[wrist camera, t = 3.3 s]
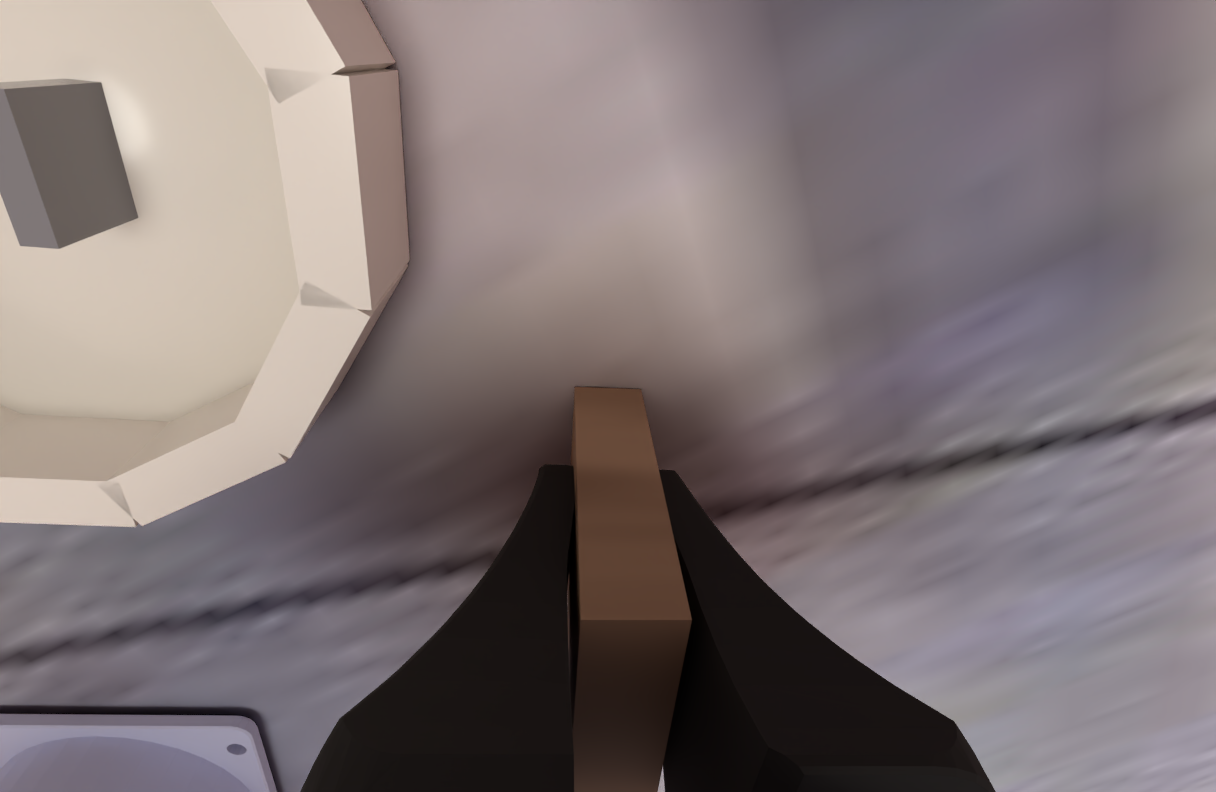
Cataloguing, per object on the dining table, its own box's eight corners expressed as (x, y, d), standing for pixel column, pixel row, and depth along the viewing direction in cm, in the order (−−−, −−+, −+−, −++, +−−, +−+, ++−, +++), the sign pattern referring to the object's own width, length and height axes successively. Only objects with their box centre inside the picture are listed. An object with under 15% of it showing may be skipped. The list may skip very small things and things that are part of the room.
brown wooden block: (624, 532, 15) (656, 793, 10) (567, 532, 15) (568, 796, 10) (641, 388, 13) (692, 620, 8) (574, 386, 13) (580, 619, 8)
